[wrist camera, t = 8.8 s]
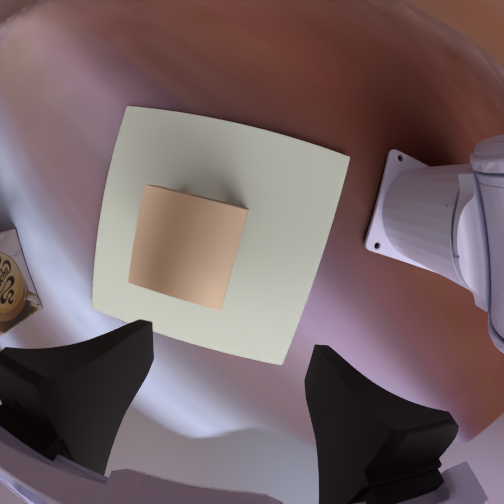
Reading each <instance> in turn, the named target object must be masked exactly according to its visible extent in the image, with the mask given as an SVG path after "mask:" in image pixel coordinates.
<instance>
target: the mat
mask: <svg viewBox="0 0 504 504" xmlns="http://www.w3.org/2000/svg"><path fill="white" fill-rule="evenodd" d="M349 160H350V157H349V156H346V155H343V154H340V153H338V152H335V151H332V150H329V149H326V148H323V147H320V146H317V145H314V144H311V143H308V142H305V141H302V140H299V139H295V138H292V137H288V136H285V135H282V134H278V133H274V132H271V131H267V130H263V129H259V128H255V127H251V126H247V125H243V124H239V123H234V122H230V121H225V120H220V119H215V118H210V117H205V116H199V115H194V114H188V113H182V112H175V111H168V110H161V109H152V108H144V107H134V106H127V108H126V111H125V114H124V117H123V120H122V123H121V127H120V130H119V133H118V137H117V141H116V144H115V148H114V152H113V156H112V160H111V164H110V168H109V173H108V177H107V182H106V187H105V192H104V197H103V203H102V208H101V214H100V221H99V228H98V235H97V244H96V253H95V263H94V276H93V295H92V308H93V309H95V310H98V311H100V312H103V313H105V314H107V315H110V316H113V317H115V318H118V319H120V320H123V321H126V322H128V323H131V322H134V321H136V320H139V319H142V320H147V321H151V322H152V323H153V331H154V332H157V333H160V334H163V335H166V336H169V337H172V338H175V339H179V340H182V341H185V342H188V343H192V344H195V345H199V346H202V347H206V348H209V349H213V350H217V351H221V352H225V353H229V354H233V355H237V356H241V357H245V358H249V359H254V360H258V361H263V362H268V363H272V364H277V365H282V363H283V361H284V359H285V356H286V354H287V351H288V349H289V346H290V344H291V341H292V338H293V336H294V333H295V331H296V328H297V325H298V323H299V320H300V318H301V315H302V312H303V309H304V307H305V304H306V301H307V298H308V296H309V293H310V290H311V287H312V284H313V281H314V278H315V275H316V272H317V269H318V266H319V263H320V260H321V257H322V254H323V251H324V248H325V245H326V242H327V238H328V235H329V232H330V229H331V225H332V222H333V219H334V215H335V212H336V208H337V205H338V201H339V198H340V194H341V191H342V187H343V183H344V179H345V176H346V172H347V168H348V164H349ZM145 185H158V186H162V187H166V188H171V189H175V190H179V191H183V192H187V193H191V194H195V195H199V196H203V197H207V198H211V199H215V200H219V201H223V202H227V203H231V204H234V205H238V206H242V207H246V208H249V210H248V213H247V217H246V221H245V224H244V228H243V232H242V235H241V239H240V243H239V247H238V250H237V254H236V258H235V261H234V265H233V269H232V273H231V277H230V280H229V284H228V288H227V292H226V296H225V299H224V303H223V306H222V309H221V311H219V310H215V309H212V308H208V307H205V306H201V305H198V304H194V303H191V302H187V301H184V300H181V299H177V298H174V297H171V296H168V295H164V294H161V293H158V292H155V291H152V290H149V289H146V288H143V287H140V286H137V285H134V284H131V283H128V278H129V270H130V263H131V256H132V249H133V243H134V237H135V231H136V225H137V220H138V215H139V210H140V205H141V200H142V196H143V191H144V187H145Z"/></svg>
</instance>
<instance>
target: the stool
mask: <svg viewBox="0 0 504 504" xmlns="http://www.w3.org/2000/svg"><path fill="white" fill-rule="evenodd" d="M248 210H249V208H246V207H242V206H238V205H234V204H231V203H227V202H223V201H219V200H215V199H211V198H207V197H203V196H199V195H195V194H191V193H187V192H183V191H179V190H175V189H171V188H166V187H162V186H158V185H145V187H144V191H143V196H142V200H141V205H140V210H139V215H138V220H137V225H136V231H135V237H134V243H133V249H132V256H131V263H130V270H129V278H128V283H131V284H134V285H137V286H140V287H143V288H146V289H149V290H152V291H155V292H158V293H161V294H164V295H168V296H171V297H174V298H177V299H181V300H184V301H187V302H191V303H194V304H198V305H201V306H205V307H208V308H212V309H215V310H219V311H221V309H222V306H223V303H224V299H225V296H226V292H227V288H228V284H229V280H230V277H231V273H232V269H233V265H234V261H235V258H236V254H237V250H238V247H239V243H240V239H241V235H242V232H243V228H244V224H245V221H246V217H247V213H248Z"/></svg>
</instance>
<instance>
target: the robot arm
mask: <svg viewBox="0 0 504 504" xmlns="http://www.w3.org/2000/svg"><path fill="white" fill-rule="evenodd" d="M398 156H400V157H401V161H399V160H398ZM470 162H471V164H459V165H445V166H434V167H429V166H427V165H426V164H424V163H422V162H420V161H418V160H416V159H414V158H412V157H410V156H408V155H406V154H404V153H402V152H400V151H398V150H395V149H393V150H390V151H389V153H388V156H387V161H386V165H385V169H384V174H383V178H382V182H381V186H380V190H379V194H378V197H377V201H376V205H375V208H374V212H373V215H372V219H371V222H370V226H369V229H368V232H367V235H366V239H365V242H364V245H365V247H366V249H368V250H370V251H373V252H376V253H379V254H382V255H385V256H389V257H392V258H395V259H398V260H401V261H404V262H407V263H410V264H413V265H415V266H418V267H421V268H424V269H427V270H430V271H433V272H436V273H439V274H441V275H442V276H444V277H446V278H448V279H450V280H452V281H454V282H456V283H457V284H459V285H461V286H463V287H465V288H466V289H468V290H470V291H471V292H472V293H473V295H474V298H475V304H476V306H478V307H480V308H481V309H483V310H484V311H486V312H488V331H489V335H490V338H491V340H492V341H493V343H494V345H495V346H496V347H497V348H498V349H499V350H500V351H501V352H503V353H504V134H503V135H498V136H495V137H491V138H488V139H485V140H482V141H480V142H478V143H477V144H476V146H475V148H474V151H473V153H471V154H470ZM377 242H378V247H377V248H375V247H374V245H375V243H377ZM153 360H154V352H153V323H152V322H151V321H147V320H142V319H139V320H136V321H134V322H131V323H129V324H127V325H124V326H122V327H120V328H118V329H115V330H113V331H111V332H108V333H106V334H103V335H101V336H98V337H95V338H93V339H90V340H87V341H83V342H80V343H76V344H72V345H66V346H60V347H54V348H43V349H22V348H10V347H6V348H4V349H3V350H2V351H0V400H1V402H2V404H1V405H0V481H1V482H2V483H3V484H4V485H5V486H6V487H7V488H9V489H10V490H11V491H12V492H14V493H15V494H16V495H18V496H19V497H20V498H21V499H22V500H24V501H25V502H26V503H28V504H283V503H282V502H281V501H279V500H277V499H275V498H273V497H271V496H268V495H266V494H260V493H254V492H248V491H238V490H228V489H219V488H213V487H206V486H201V485H195V484H189V483H184V482H180V481H175V480H171V479H167V478H163V477H159V476H156V475H152V474H148V473H145V472H140V471H135V470H130V469H122V470H116V471H112V472H111V474H110V476H109V478H108V477H106V476H104V473H105V470H106V466H107V462H108V458H109V455H110V452H111V448H112V446H113V443H114V440H115V437H116V434H117V431H118V429H119V427H120V424H121V422H122V419H123V417H124V415H125V413H126V411H127V409H128V407H129V405H130V404H131V402H132V400H133V399H134V397H135V395H136V394H137V392H138V390H139V389H140V387H141V385H142V383H143V382H144V380H145V378H146V377H147V374H148V372H149V370H150V367H151V365H152V362H153ZM305 393H306V400H307V405H308V409H309V413H310V417H311V421H312V426H313V430H314V434H315V439H316V445H317V456H318V469H319V504H486V503H487V502H488V498H487V496H486V494H485V492H484V490H483V489H482V487H481V485H480V484H479V482H478V480H477V478H476V477H475V475H474V473H473V471H472V470H471V468H470V466H469V465H468V463H467V462H463V463H461V464H459V465H456V466H454V467H452V468H449V469H447V470H445V471H444V472H442V473H441V474H440V472H439V470H438V468H440V467H441V462H440V460H439V458H440V456H441V455H442V454H443V453H444V452H445V451H446V449H447V448H448V447H449V446H450V444H451V443H452V442H453V440H454V439H455V437H456V435H457V432H458V425H457V423H456V422H455V420H454V419H453V417H452V416H451V414H450V413H449V412H447V411H442V410H437V409H433V408H428V407H425V406H422V405H419V404H416V403H413V402H410V401H408V400H405V399H403V398H401V397H399V396H396V395H394V394H392V393H390V392H388V391H387V390H385V389H383V388H382V387H380V386H378V385H377V384H375V383H374V382H372V381H371V380H369V379H368V378H366V377H365V376H364V375H362V374H361V373H360V372H359V371H357V370H356V369H355V368H354V367H352V366H351V365H350V364H349V363H348V362H347V361H346V360H344V359H343V358H342V357H341V356H340V355H339V354H338V353H337V352H335V351H334V350H333V349H332V348H331V347H329V346H328V345H315V346H314V350H313V353H312V357H311V360H310V364H309V367H308V370H307V374H306V377H305Z"/></svg>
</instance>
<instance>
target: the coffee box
mask: <svg viewBox="0 0 504 504" xmlns="http://www.w3.org/2000/svg"><path fill="white" fill-rule="evenodd" d="M40 310H42V305H41V303H40V300H39V298H38V295H37V293H36V291H35V288H34V285H33V283H32V280H31V277H30V275H29V272H28V269H27V266H26V263H25V260H24V257H23V254H22V250H21V247H20V244H19V240H18V237H17V233H16V229H11V230H7V231H3V232H0V337H1V336H2V335H4V334H5V333H7V332H8V331H10V330H11V329H12V328H14V327H15V326H17V325H18V324H20V323H21V322H23V321H24V320H25V319H27V318H28V317H30V316H31V315H33V314H35V313H36V312H38V311H40Z"/></svg>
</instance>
